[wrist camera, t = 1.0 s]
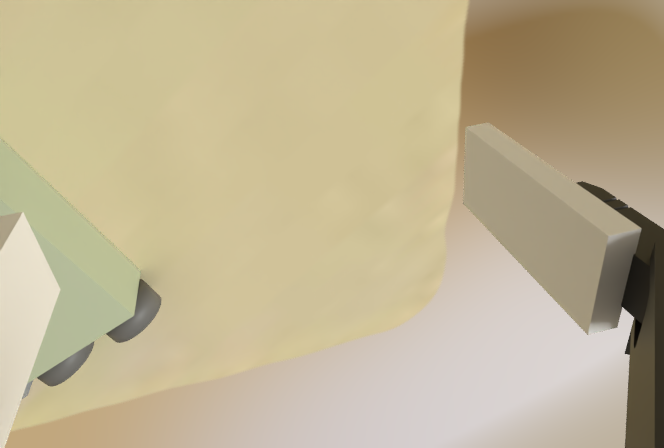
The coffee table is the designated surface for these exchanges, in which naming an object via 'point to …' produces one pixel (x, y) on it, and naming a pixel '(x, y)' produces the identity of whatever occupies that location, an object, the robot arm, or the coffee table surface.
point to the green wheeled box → (74, 274)
